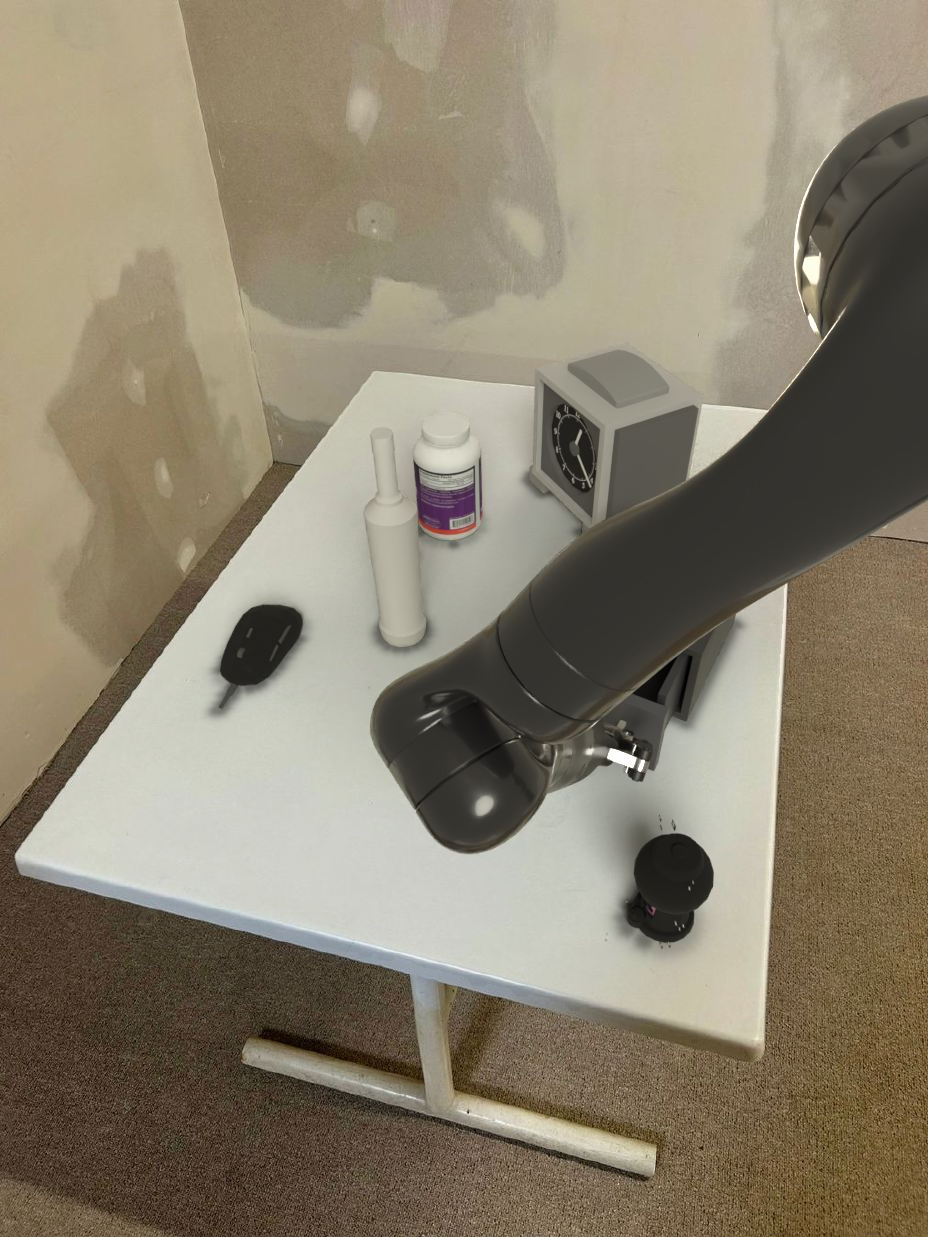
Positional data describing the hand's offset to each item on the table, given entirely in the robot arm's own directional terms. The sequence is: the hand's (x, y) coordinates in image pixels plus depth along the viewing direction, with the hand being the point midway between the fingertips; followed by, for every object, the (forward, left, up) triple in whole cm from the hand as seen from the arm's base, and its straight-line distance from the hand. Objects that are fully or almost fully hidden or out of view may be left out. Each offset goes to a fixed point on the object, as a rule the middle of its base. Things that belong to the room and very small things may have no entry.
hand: (594, 729), depth 78 cm
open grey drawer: (0, -6, -4) cm, 7 cm away
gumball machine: (-11, +11, -5) cm, 17 cm away
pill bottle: (+30, -26, -5) cm, 40 cm away
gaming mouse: (+37, +4, -5) cm, 37 cm away
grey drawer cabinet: (0, -17, -5) cm, 17 cm away
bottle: (+25, -7, -5) cm, 26 cm away
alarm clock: (+15, -40, -5) cm, 43 cm away
